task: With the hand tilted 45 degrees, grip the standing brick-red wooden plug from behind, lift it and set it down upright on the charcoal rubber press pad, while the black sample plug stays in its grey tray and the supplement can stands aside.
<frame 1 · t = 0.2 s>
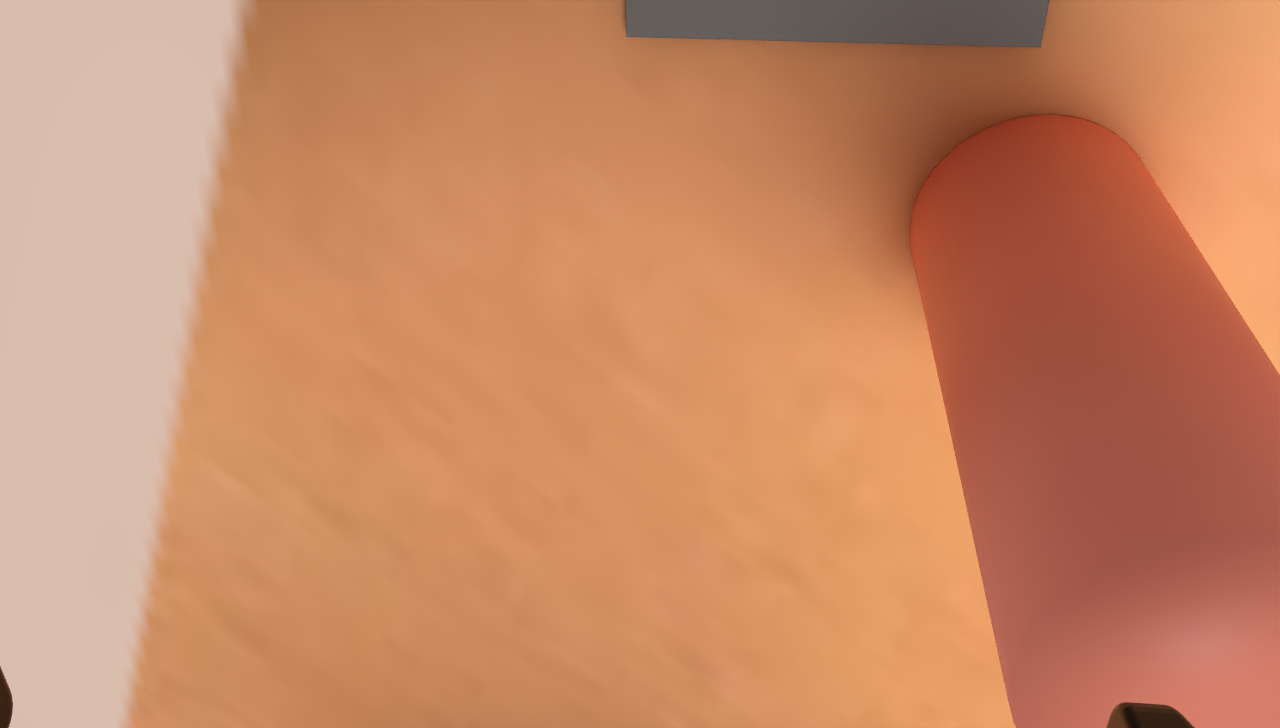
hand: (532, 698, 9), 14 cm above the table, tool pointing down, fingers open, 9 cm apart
red plug: (1030, 226, 22), on the table
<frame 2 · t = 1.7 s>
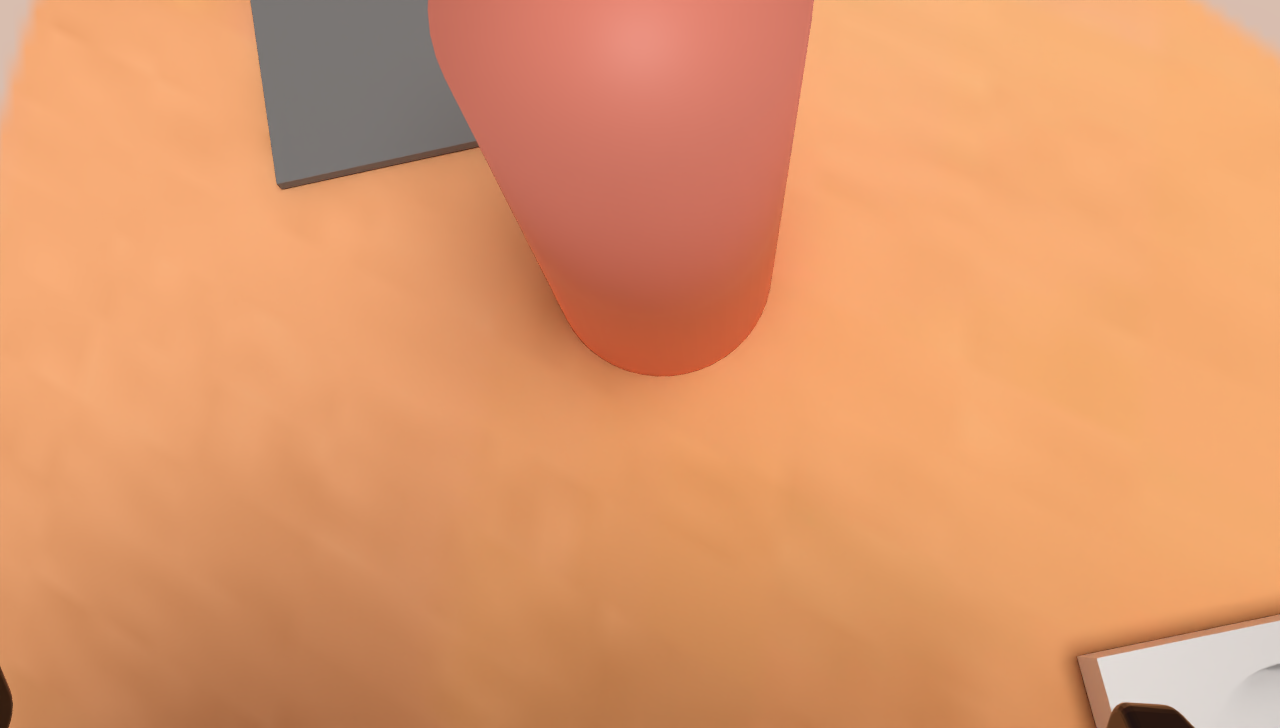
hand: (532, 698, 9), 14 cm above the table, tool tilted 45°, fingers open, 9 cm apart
press pad: (417, 6, 26), on the table
red plug: (663, 270, 24), on the table
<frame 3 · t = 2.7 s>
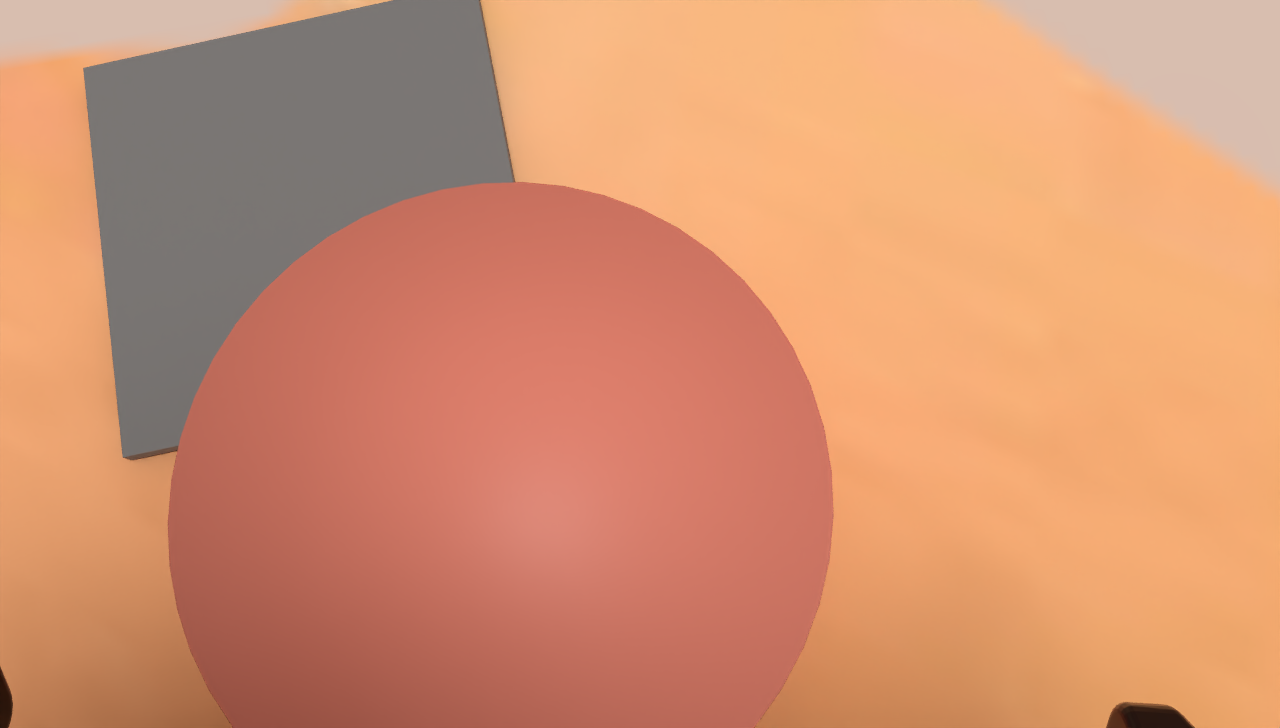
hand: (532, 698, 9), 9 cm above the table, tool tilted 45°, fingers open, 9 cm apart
press pad: (311, 216, 20), on the table
red plug: (623, 578, 19), on the table
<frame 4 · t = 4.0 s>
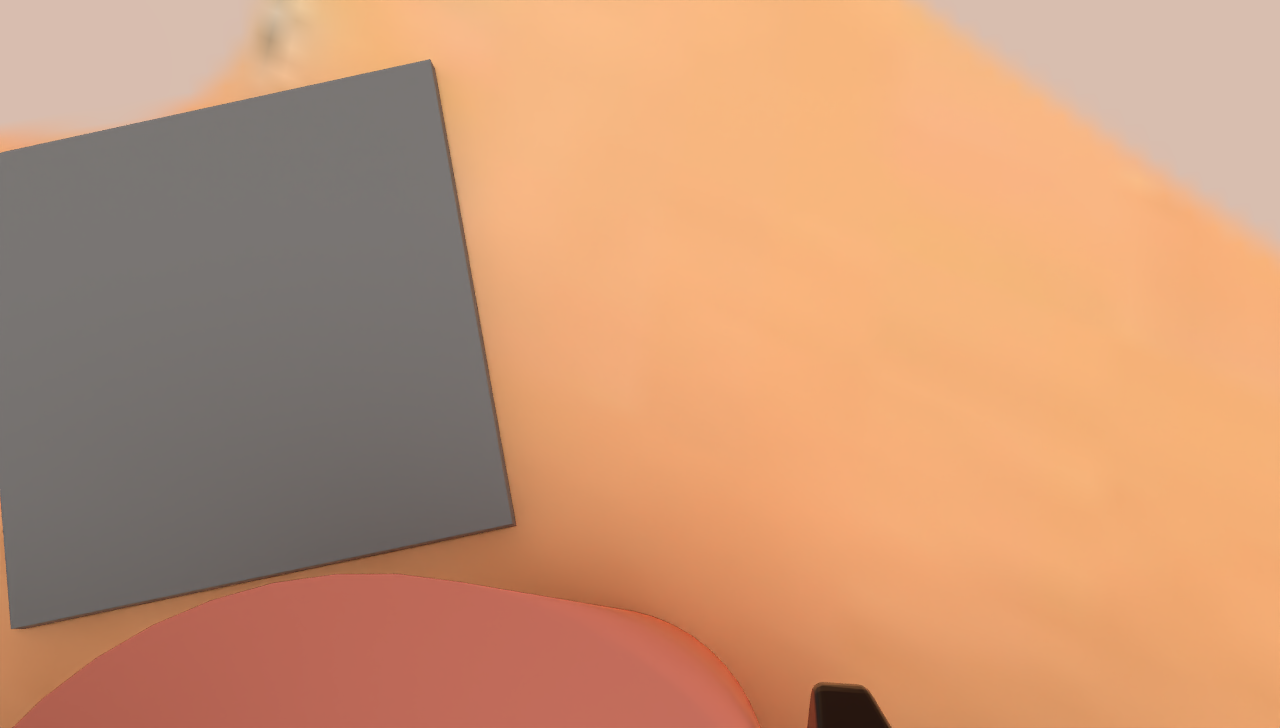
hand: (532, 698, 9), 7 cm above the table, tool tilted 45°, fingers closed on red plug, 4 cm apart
press pad: (237, 337, 17), on the table
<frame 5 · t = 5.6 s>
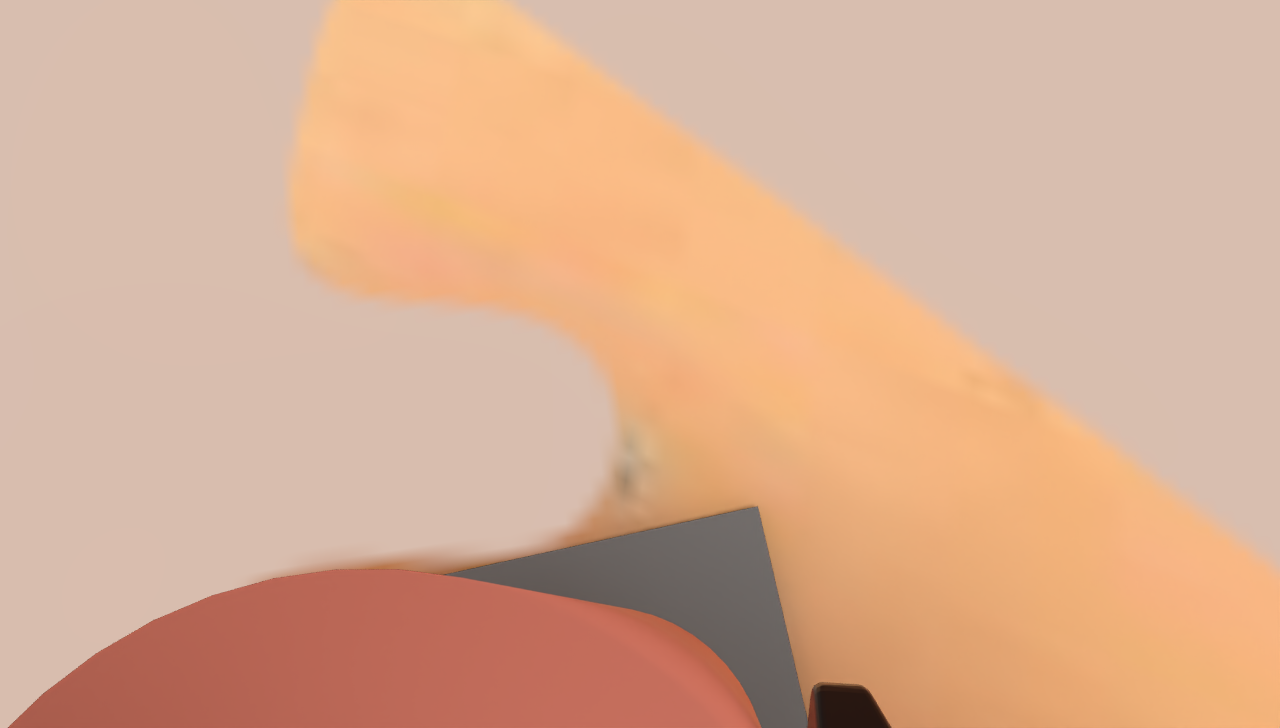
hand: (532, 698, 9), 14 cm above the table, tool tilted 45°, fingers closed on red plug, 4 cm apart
press pad: (619, 727, 23), on the table
when the fingers open (8 cm above the table, at t = 7.3 s): red plug stays where it is, resting on press pad.
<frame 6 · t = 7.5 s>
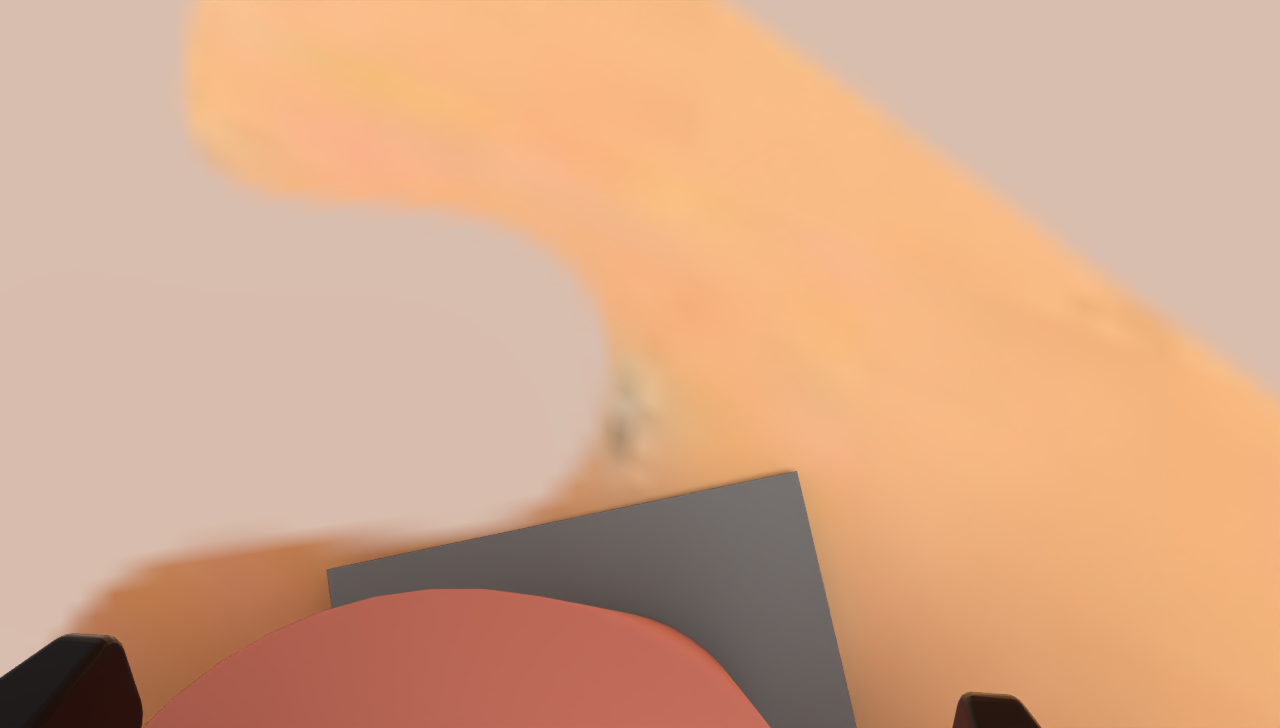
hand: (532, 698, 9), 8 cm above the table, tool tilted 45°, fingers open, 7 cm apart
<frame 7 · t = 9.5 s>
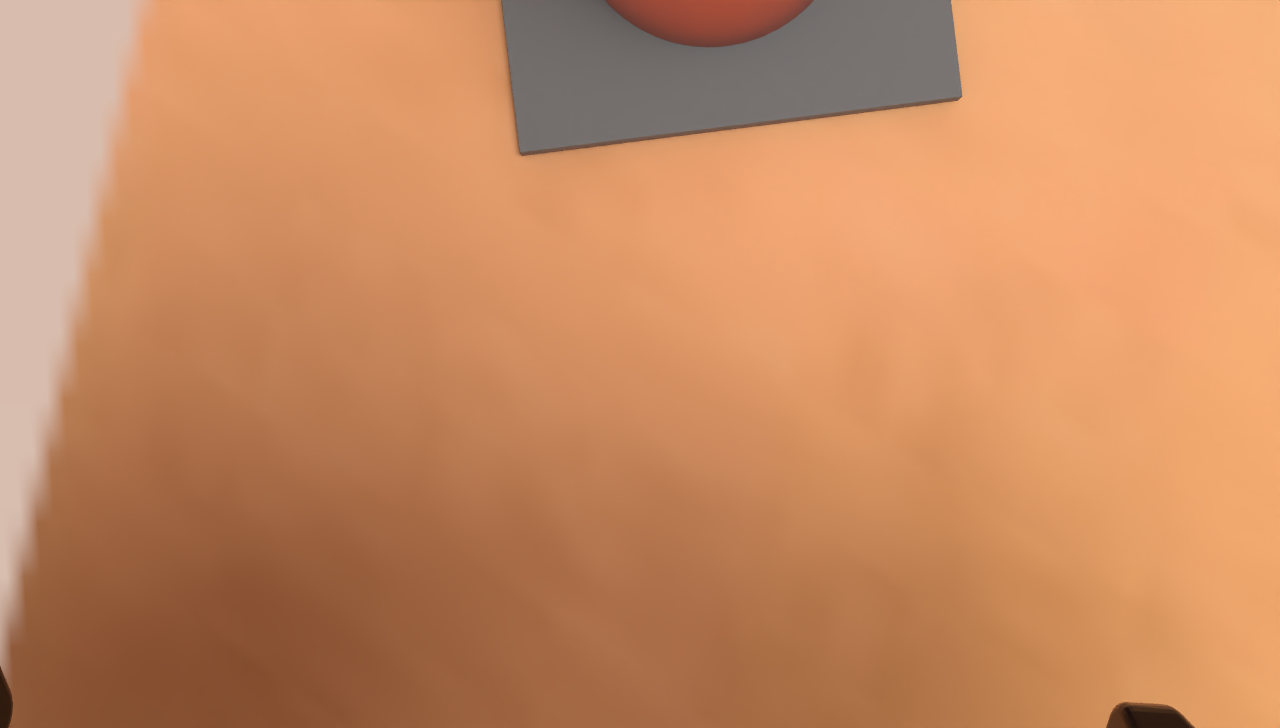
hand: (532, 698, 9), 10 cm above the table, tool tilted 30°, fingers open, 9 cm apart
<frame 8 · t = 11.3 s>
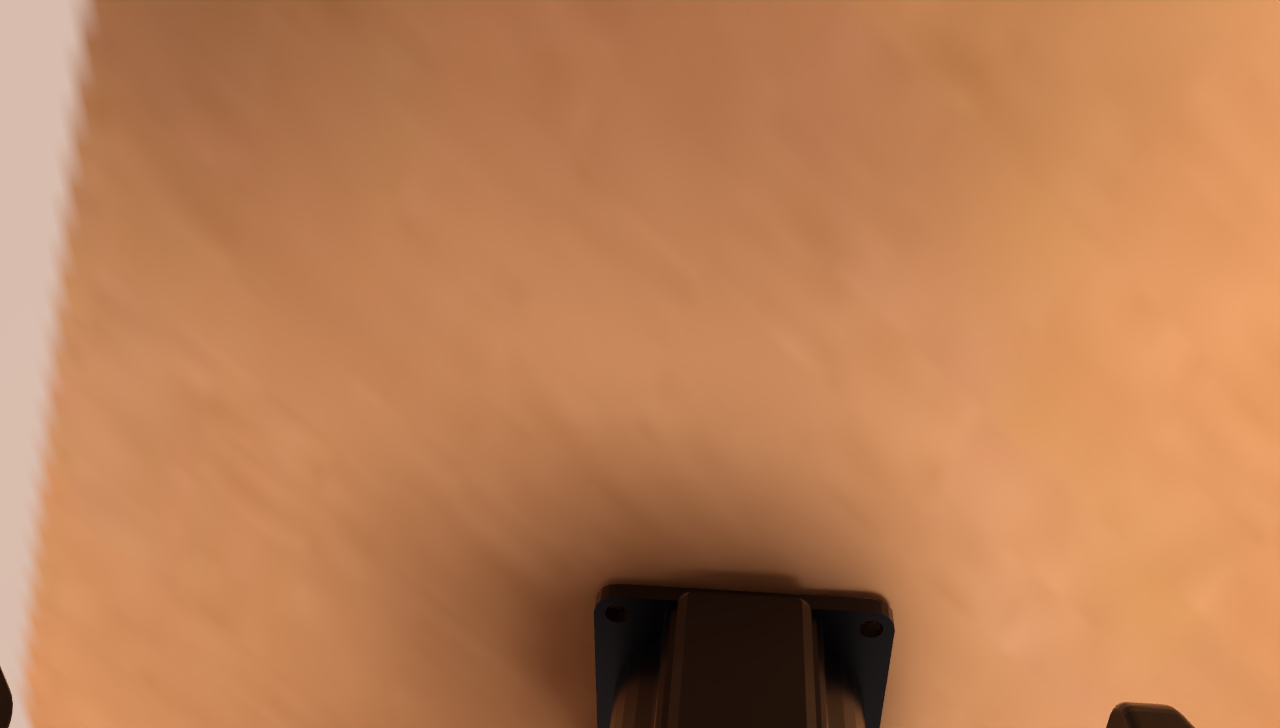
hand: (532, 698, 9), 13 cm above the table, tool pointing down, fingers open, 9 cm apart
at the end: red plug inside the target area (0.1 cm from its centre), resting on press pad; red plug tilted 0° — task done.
